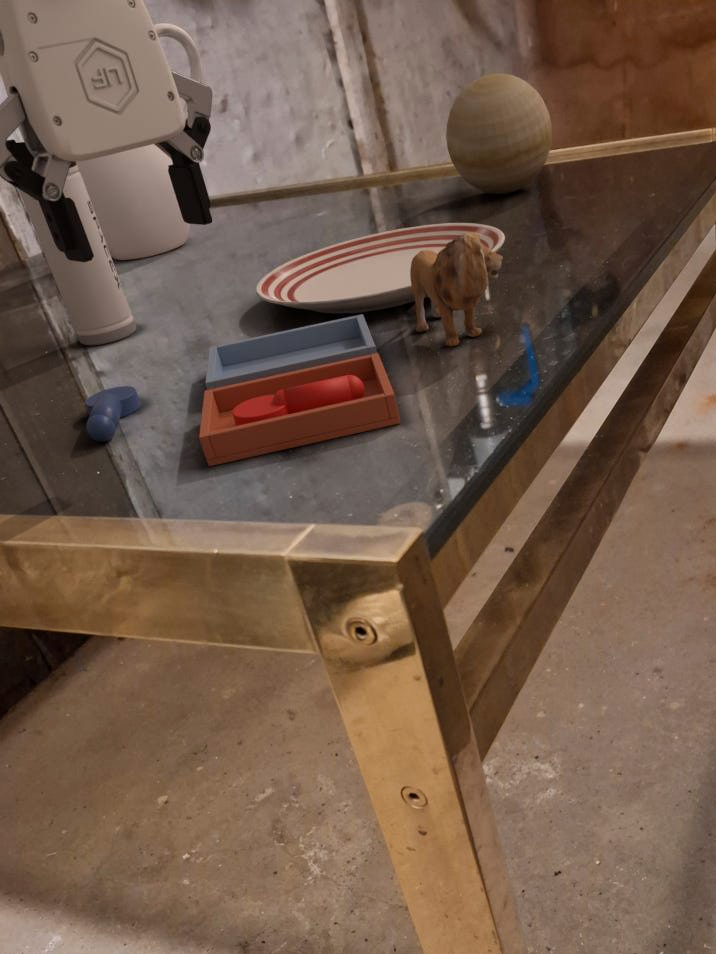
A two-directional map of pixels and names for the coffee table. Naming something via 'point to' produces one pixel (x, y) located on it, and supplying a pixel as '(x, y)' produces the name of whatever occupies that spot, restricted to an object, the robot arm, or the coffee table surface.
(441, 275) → the lion figurine
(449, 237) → the dinner plate
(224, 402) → the red tray
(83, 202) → the travel mug
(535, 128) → the decorative ball
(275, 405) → the red spoon
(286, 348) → the blue tray
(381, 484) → the coffee table surface
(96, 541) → the coffee table surface
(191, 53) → the pitcher
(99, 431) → the blue spoon
